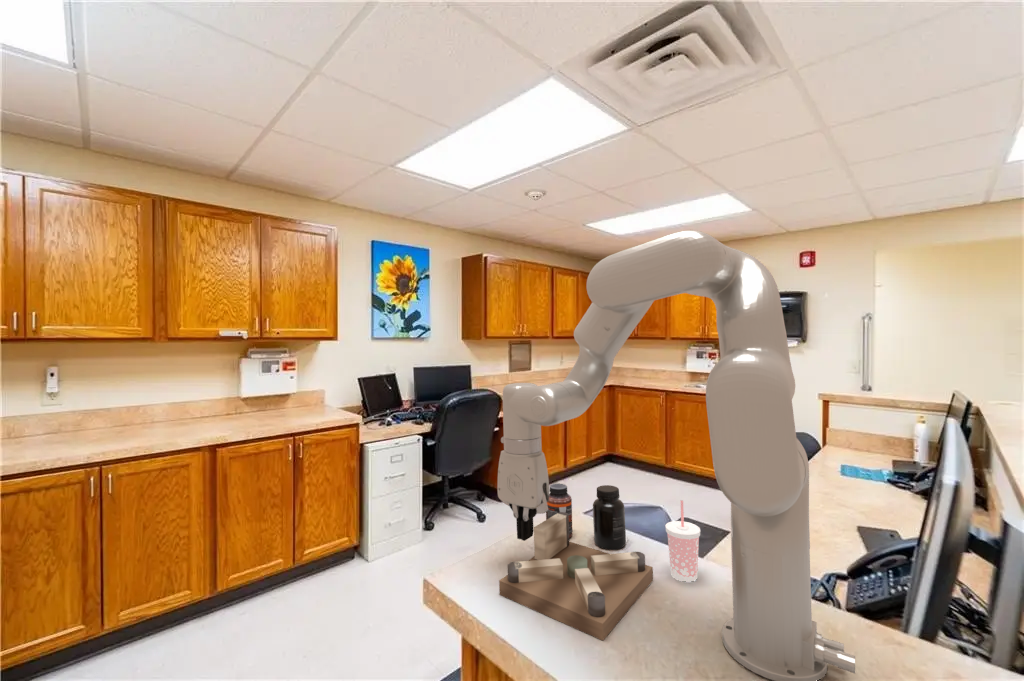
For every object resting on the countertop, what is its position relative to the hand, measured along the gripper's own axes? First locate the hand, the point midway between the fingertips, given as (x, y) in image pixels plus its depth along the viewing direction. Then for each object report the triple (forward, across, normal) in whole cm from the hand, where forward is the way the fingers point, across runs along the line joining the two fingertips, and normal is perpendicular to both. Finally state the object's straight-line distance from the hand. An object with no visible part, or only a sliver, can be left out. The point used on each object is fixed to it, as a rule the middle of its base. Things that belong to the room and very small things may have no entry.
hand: (525, 537), depth 87 cm
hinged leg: (+3, +4, +4) cm, 6 cm away
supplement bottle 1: (+6, -2, +15) cm, 16 cm away
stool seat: (+6, +12, -1) cm, 14 cm away
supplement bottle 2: (+6, +9, +18) cm, 21 cm away
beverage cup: (+6, +26, +14) cm, 30 cm away
